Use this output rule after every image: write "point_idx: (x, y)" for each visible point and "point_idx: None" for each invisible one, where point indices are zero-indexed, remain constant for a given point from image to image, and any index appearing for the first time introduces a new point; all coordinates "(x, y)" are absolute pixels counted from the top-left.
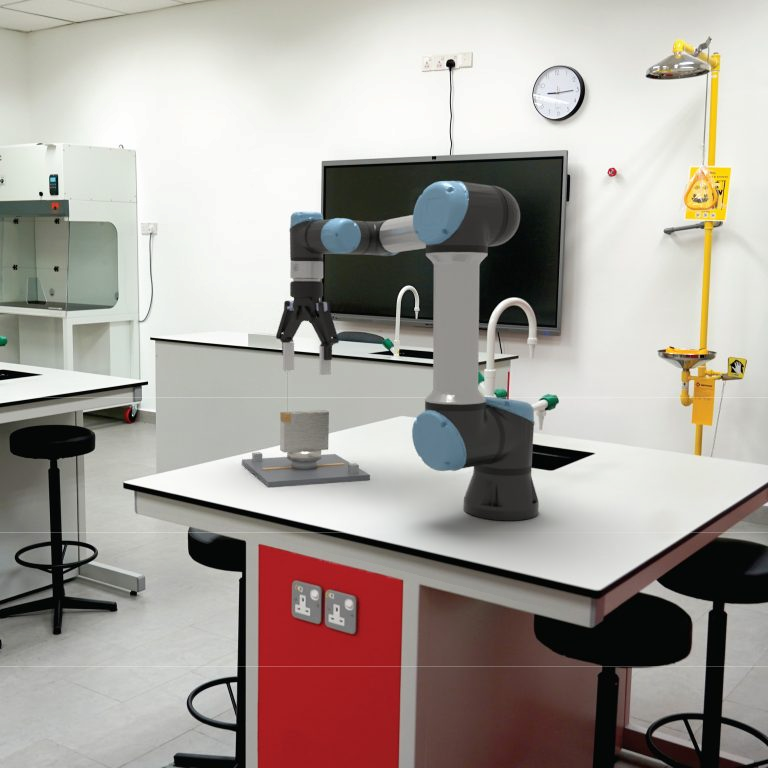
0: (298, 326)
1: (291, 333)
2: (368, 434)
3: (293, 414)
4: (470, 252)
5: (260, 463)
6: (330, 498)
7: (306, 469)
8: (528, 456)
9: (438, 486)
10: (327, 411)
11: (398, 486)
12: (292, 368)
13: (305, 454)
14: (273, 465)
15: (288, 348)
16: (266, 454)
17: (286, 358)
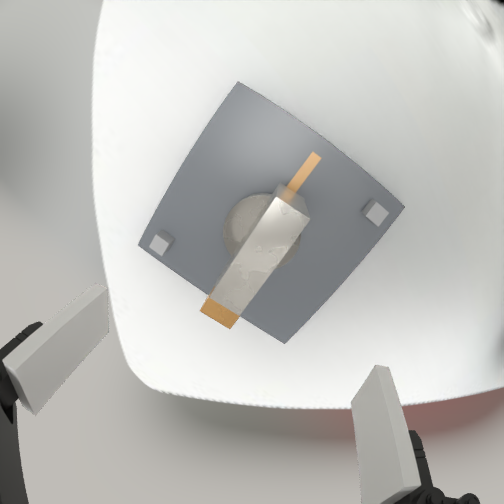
0: (5, 497)
1: (8, 446)
2: None
3: (243, 309)
4: None
5: (181, 250)
6: (391, 330)
7: None
8: None
9: (492, 178)
10: (299, 212)
11: (451, 212)
12: (105, 299)
13: (287, 262)
14: (210, 249)
15: (46, 378)
16: (112, 145)
17: (79, 357)
